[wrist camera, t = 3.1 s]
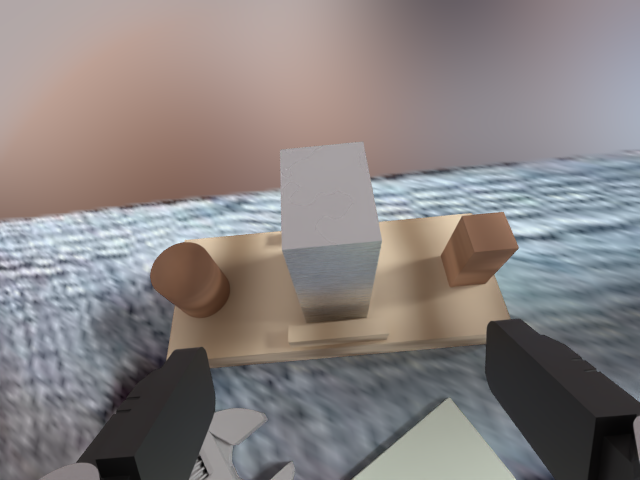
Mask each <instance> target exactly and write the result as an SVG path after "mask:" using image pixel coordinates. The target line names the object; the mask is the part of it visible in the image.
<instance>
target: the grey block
mask: <svg viewBox="0 0 640 480" xmlns="http://www.w3.org/2000/svg"><path fill="white" fill-rule="evenodd" d="M280 167H281V168H280V171H281V232H282V252H283V255H284V258H285V261H286V264H287V267H288V270H289V273H290V276H291V279H292V282H293V285H294V288H295V291H296V294H297V297H298V300H299V303H300V306H301V309H302V312H303V315H304V318H305V321H306V323H308V322H319V321H330V320H341V319H353V318H364V317H367V315H368V310H369V305H370V300H371V295H372V290H373V285H374V279H375V274H376V269H377V264H378V259H379V254H380V249H381V244H382V237H381V232H380V226H379V221H378V216H377V211H376V206H375V201H374V195H373V190H372V185H371V180H370V175H369V170H368V165H367V159H366V154H365V149H364V143H363V142H355V143H345V144H335V145H325V146H314V147H304V148H294V149H285V150H280Z"/></svg>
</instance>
